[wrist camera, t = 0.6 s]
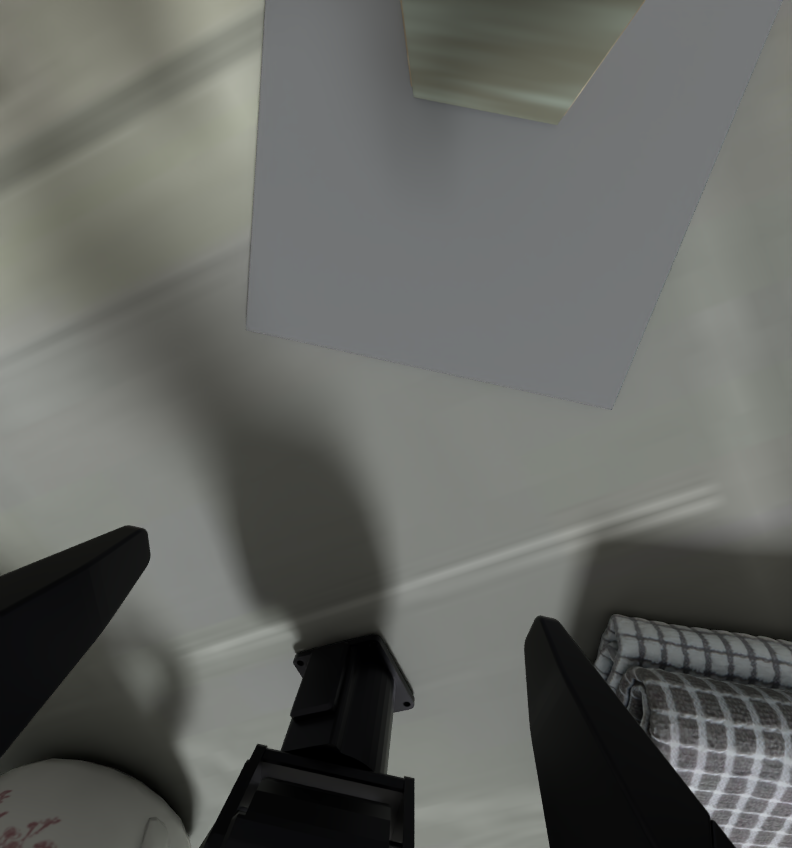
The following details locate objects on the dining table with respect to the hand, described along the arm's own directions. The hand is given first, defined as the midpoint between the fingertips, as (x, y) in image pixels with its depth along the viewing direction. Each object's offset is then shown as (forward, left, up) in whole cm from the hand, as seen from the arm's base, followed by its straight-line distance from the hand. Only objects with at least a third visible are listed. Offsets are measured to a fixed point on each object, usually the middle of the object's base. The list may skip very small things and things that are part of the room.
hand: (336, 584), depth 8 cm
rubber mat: (+11, -9, -12) cm, 18 cm away
